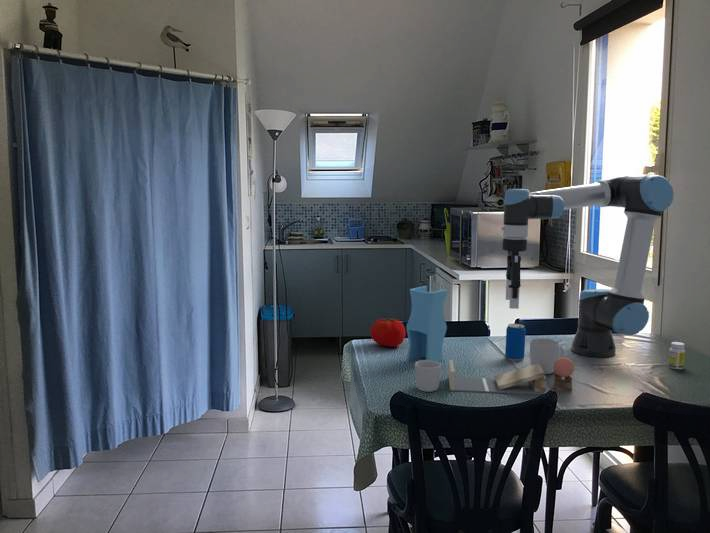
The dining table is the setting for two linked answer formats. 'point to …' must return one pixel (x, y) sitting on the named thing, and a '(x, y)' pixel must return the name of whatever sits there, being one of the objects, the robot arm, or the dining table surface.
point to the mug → (545, 353)
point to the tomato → (388, 332)
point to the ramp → (523, 378)
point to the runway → (486, 385)
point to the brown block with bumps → (562, 383)
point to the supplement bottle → (676, 355)
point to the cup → (427, 375)
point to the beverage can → (515, 342)
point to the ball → (563, 367)
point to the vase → (426, 324)
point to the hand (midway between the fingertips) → (511, 303)
